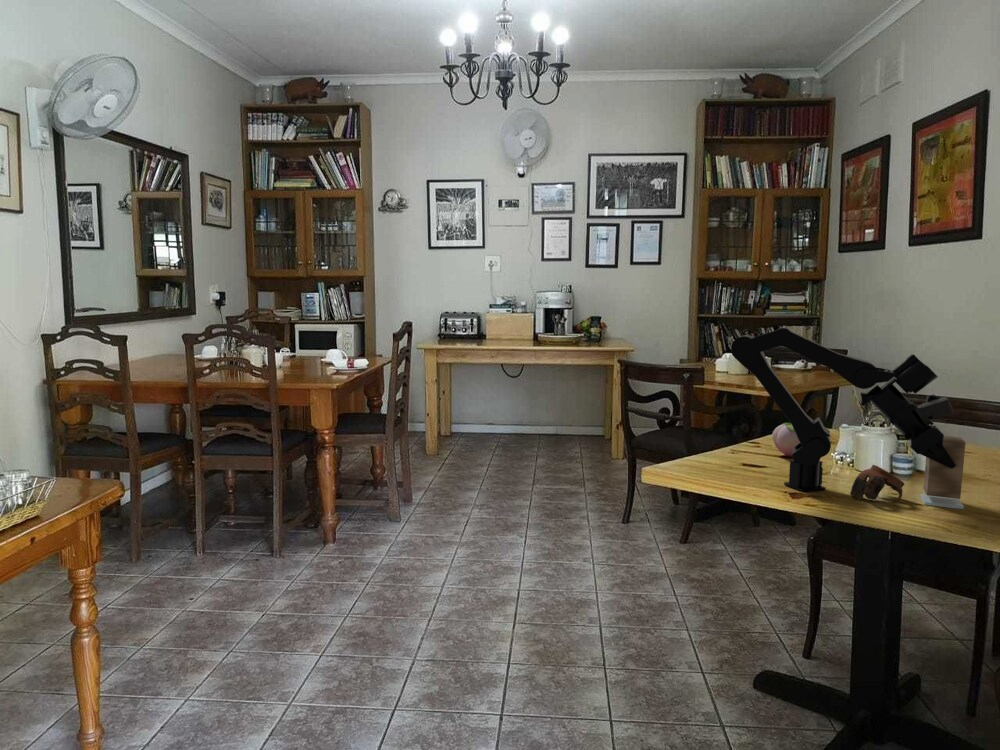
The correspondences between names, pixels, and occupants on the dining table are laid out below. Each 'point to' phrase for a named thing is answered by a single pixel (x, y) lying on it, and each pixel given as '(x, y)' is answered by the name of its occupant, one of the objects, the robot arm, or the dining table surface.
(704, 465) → the dining table surface
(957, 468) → the walnut block
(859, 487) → the brown curved piece
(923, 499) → the slate-blue tile
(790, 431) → the decorative fruit
